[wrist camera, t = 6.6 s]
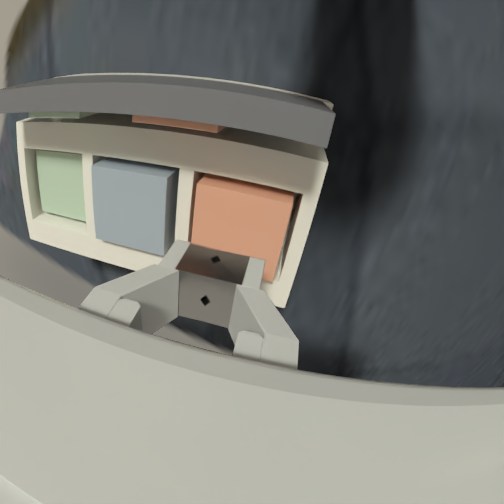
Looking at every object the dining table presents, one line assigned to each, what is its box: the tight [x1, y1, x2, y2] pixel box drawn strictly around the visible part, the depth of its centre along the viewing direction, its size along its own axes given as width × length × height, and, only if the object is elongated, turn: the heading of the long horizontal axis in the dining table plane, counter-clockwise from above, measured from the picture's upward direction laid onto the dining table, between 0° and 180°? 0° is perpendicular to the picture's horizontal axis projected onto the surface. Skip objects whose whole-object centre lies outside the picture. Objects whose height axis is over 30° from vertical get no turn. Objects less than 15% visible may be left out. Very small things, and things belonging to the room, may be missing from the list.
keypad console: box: [0, 73, 336, 308], centre depth 13 cm, size 15×9×8 cm, turn 80°
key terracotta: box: [191, 173, 294, 282], centre depth 13 cm, size 4×4×2 cm
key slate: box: [91, 157, 180, 256], centre depth 13 cm, size 4×4×2 cm
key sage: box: [36, 149, 86, 222], centre depth 14 cm, size 4×4×2 cm
